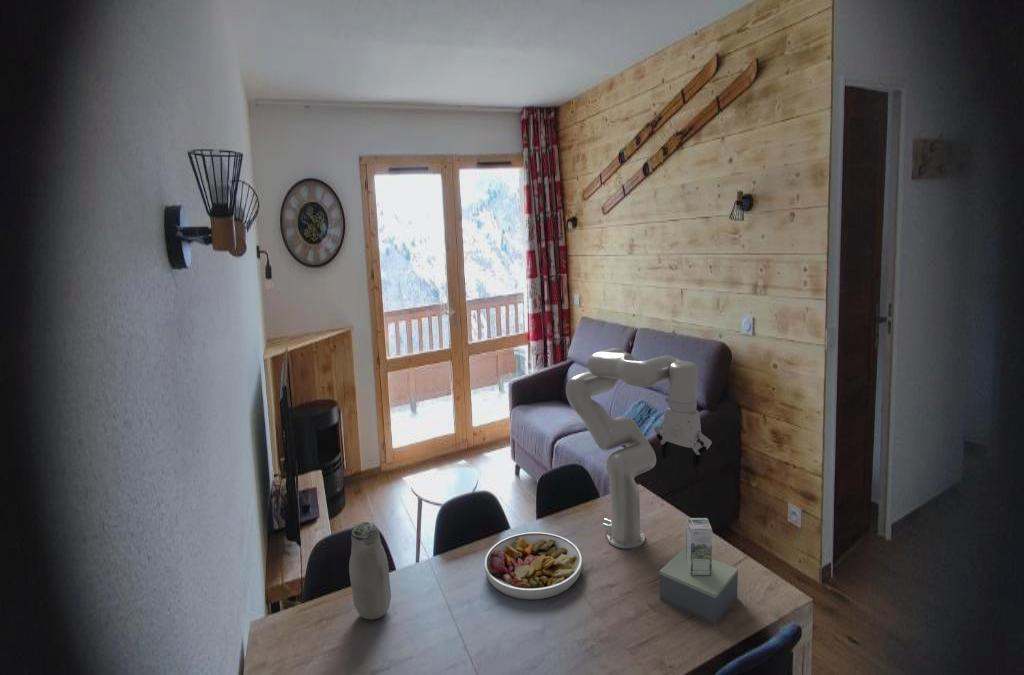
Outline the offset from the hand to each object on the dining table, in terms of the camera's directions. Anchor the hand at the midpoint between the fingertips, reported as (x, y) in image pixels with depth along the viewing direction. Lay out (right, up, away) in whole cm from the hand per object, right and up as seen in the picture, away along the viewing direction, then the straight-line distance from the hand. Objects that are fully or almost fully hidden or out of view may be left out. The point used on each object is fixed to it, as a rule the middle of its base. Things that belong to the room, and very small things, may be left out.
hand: (681, 461), depth 159 cm
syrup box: (+3, -29, -7) cm, 30 cm away
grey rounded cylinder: (-88, -43, -3) cm, 98 cm away
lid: (+3, -30, -7) cm, 30 cm away
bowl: (-42, -37, +11) cm, 58 cm away
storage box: (+3, -37, -5) cm, 38 cm away
